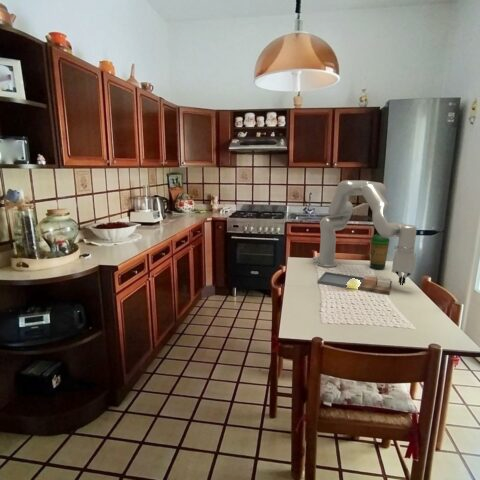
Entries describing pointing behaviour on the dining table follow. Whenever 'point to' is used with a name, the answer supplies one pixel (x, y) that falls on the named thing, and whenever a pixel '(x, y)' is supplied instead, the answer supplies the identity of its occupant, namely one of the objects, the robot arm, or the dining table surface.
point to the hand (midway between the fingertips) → (401, 284)
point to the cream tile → (383, 282)
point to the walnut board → (375, 288)
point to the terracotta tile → (370, 280)
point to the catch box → (337, 279)
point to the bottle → (378, 251)
